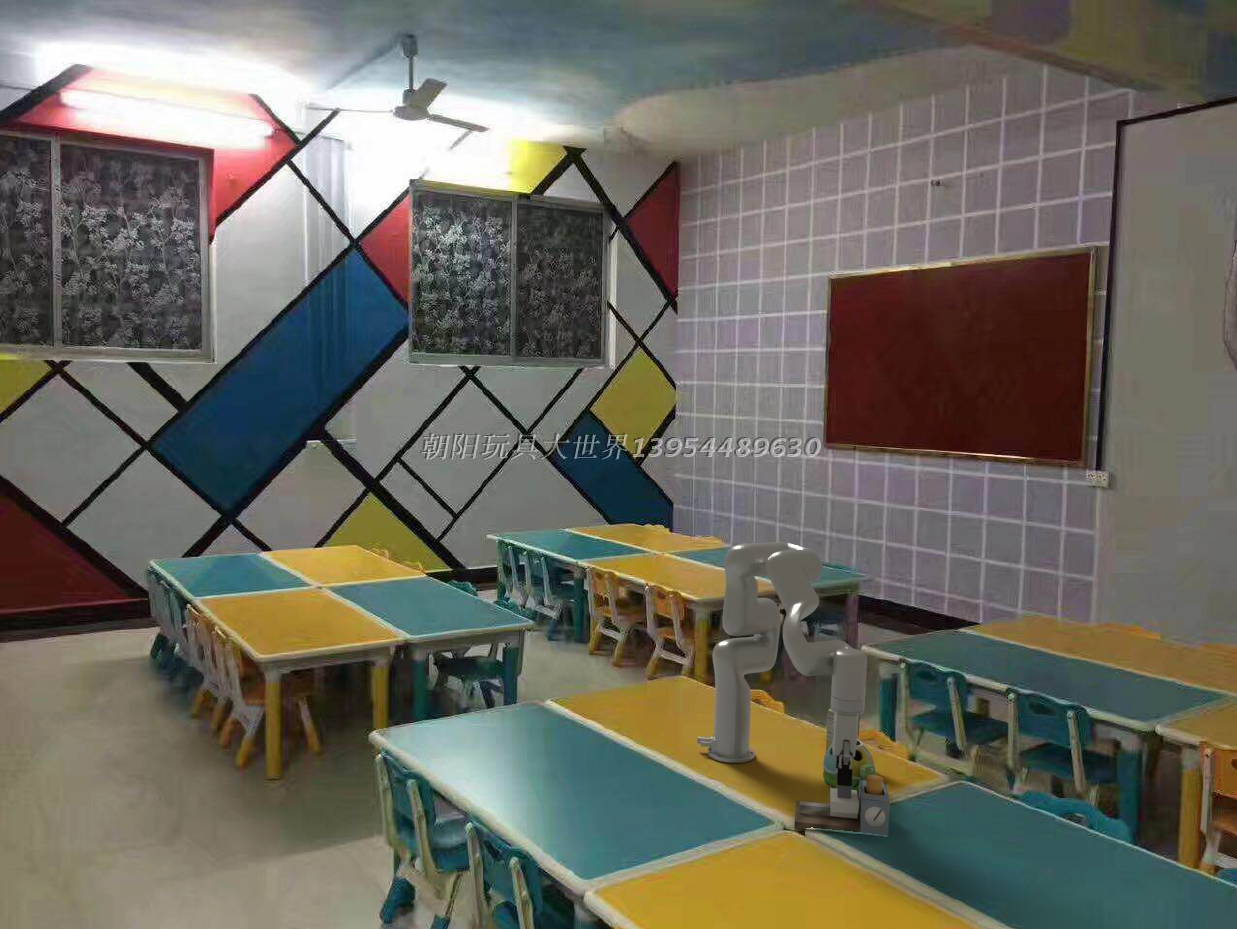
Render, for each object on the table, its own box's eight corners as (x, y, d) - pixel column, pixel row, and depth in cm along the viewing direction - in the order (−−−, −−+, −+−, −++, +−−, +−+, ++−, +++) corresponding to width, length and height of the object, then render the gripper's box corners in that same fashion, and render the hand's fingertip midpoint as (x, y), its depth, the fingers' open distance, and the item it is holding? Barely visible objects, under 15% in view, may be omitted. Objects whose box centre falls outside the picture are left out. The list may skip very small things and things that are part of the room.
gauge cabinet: (860, 835, 230) (862, 800, 230) (858, 813, 243) (859, 779, 242) (888, 838, 229) (889, 803, 229) (884, 815, 241) (886, 782, 241)
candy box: (845, 759, 278) (848, 703, 277) (858, 764, 275) (860, 707, 274) (824, 766, 272) (826, 709, 271) (837, 771, 269) (839, 713, 268)
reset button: (866, 797, 234) (867, 779, 234) (865, 791, 238) (866, 774, 237) (882, 798, 234) (883, 781, 233) (881, 792, 237) (882, 775, 237)
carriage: (830, 818, 234) (832, 770, 233) (829, 804, 242) (831, 758, 241) (857, 821, 233) (859, 773, 232) (856, 807, 241) (858, 760, 240)
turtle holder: (846, 808, 245) (848, 759, 244) (813, 779, 263) (815, 733, 262) (893, 804, 248) (895, 755, 247) (858, 776, 266) (860, 730, 265)
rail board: (794, 827, 233) (794, 812, 233) (795, 806, 245) (795, 792, 245) (860, 834, 231) (861, 819, 231) (858, 813, 243) (858, 798, 242)
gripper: (830, 691, 245) (826, 761, 246) (831, 714, 228) (827, 790, 229) (862, 693, 243) (858, 764, 245) (866, 717, 226) (862, 793, 228)
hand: (843, 776), depth 237 cm, fingers open, 9 cm apart
